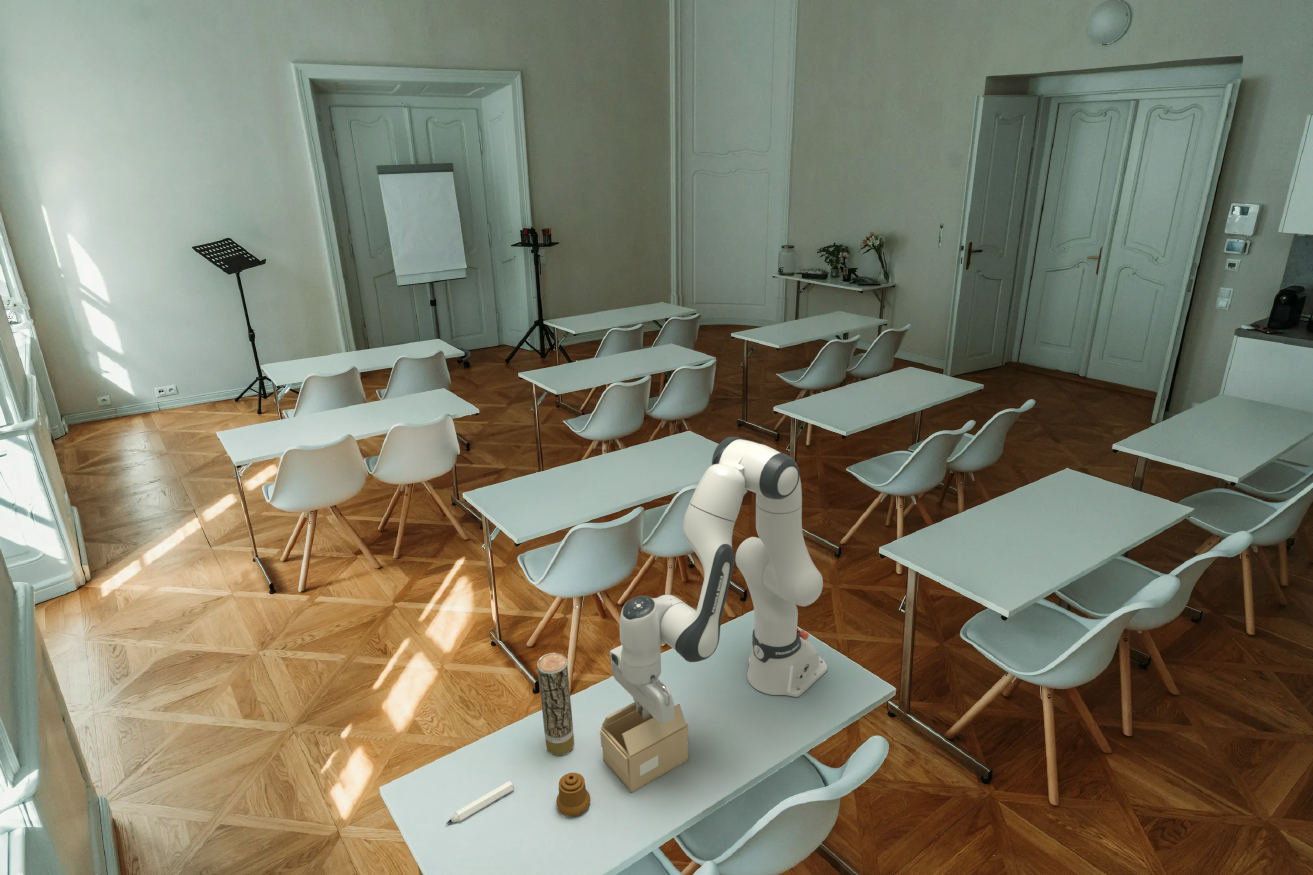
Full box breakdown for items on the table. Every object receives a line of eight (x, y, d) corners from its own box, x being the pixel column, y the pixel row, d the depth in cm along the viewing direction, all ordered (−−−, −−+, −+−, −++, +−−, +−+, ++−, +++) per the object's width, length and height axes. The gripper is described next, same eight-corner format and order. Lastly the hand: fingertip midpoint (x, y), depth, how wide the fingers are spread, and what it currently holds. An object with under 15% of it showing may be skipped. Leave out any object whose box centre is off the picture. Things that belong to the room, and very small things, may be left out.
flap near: (630, 756, 170) (622, 734, 170) (629, 755, 170) (621, 733, 170) (686, 725, 178) (679, 704, 178) (685, 724, 178) (678, 703, 178)
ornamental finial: (569, 824, 166) (550, 804, 171) (597, 805, 171) (577, 785, 176) (567, 797, 163) (547, 776, 168) (595, 778, 167) (574, 758, 173)
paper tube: (569, 758, 183) (561, 673, 174) (542, 754, 184) (533, 670, 175) (578, 737, 189) (570, 654, 180) (551, 734, 191) (543, 651, 181)
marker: (446, 829, 167) (511, 790, 176) (449, 831, 165) (515, 791, 174) (442, 817, 167) (507, 779, 176) (445, 819, 165) (511, 780, 174)
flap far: (656, 696, 187) (662, 688, 183) (657, 698, 186) (663, 689, 183) (601, 725, 178) (606, 716, 175) (602, 726, 178) (607, 718, 175)
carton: (660, 729, 191) (659, 696, 187) (690, 758, 182) (689, 725, 178) (601, 761, 182) (598, 728, 178) (629, 794, 173) (627, 760, 169)
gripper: (680, 684, 165) (681, 734, 171) (628, 637, 181) (630, 684, 186) (656, 696, 162) (658, 747, 167) (605, 647, 178) (608, 695, 183)
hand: (643, 714), depth 177 cm, fingers closed
